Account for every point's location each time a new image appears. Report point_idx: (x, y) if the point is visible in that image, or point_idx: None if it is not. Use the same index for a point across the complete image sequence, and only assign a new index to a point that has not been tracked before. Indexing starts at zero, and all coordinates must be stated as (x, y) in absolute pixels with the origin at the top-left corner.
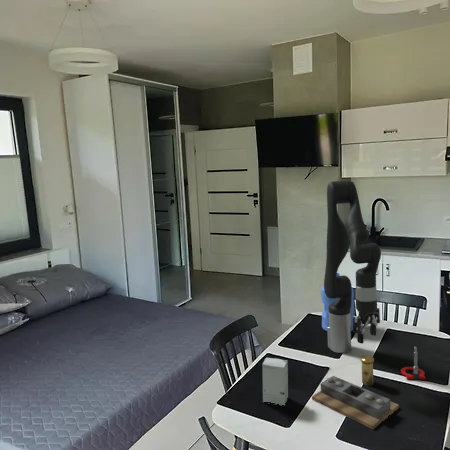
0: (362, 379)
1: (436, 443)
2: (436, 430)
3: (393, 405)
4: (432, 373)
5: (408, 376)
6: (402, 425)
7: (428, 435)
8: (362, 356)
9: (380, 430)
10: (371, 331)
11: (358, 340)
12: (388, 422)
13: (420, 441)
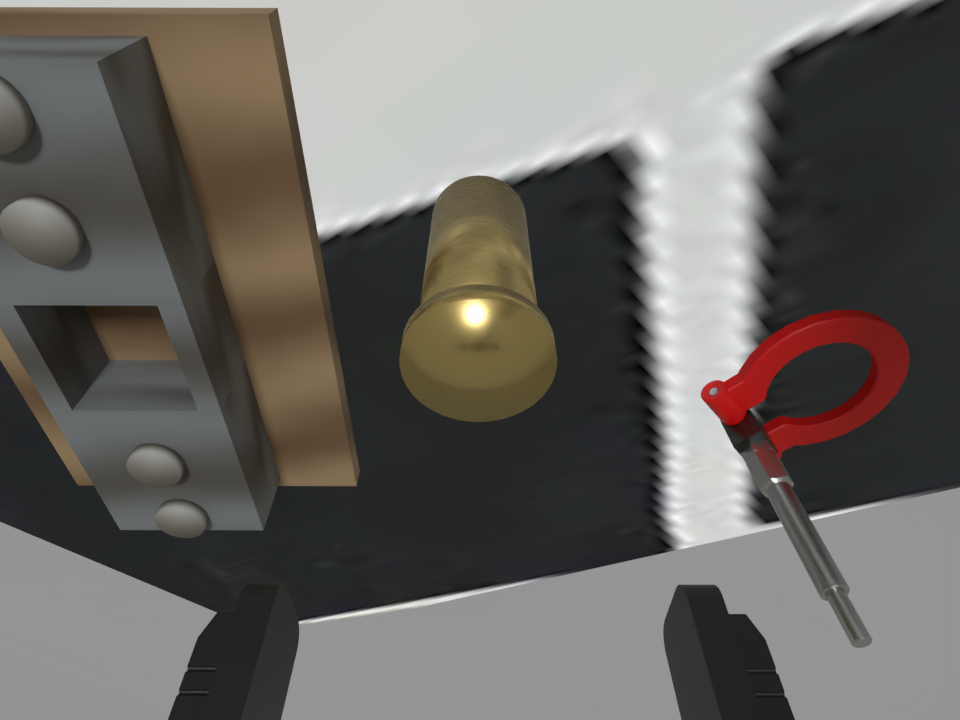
0: (438, 211)
1: None
2: (341, 595)
3: (326, 474)
4: (872, 447)
5: (716, 407)
6: None
7: None
8: (489, 305)
9: None
10: (696, 663)
11: (204, 655)
12: None
13: (225, 587)
